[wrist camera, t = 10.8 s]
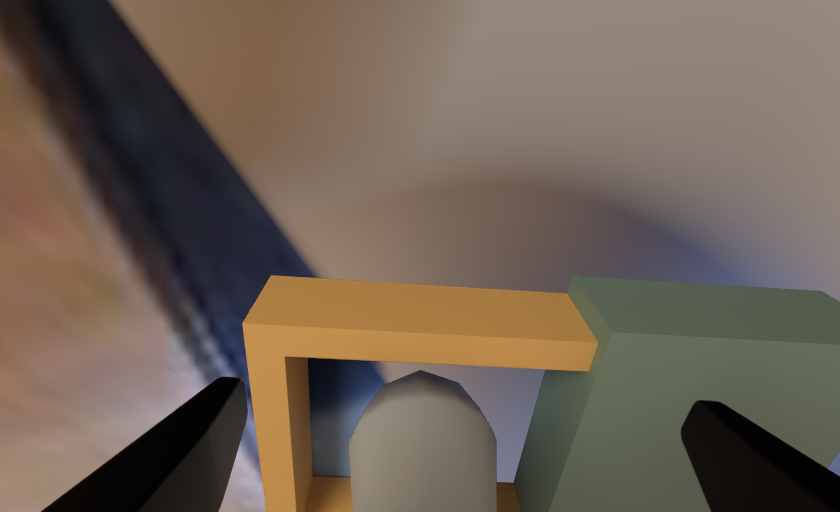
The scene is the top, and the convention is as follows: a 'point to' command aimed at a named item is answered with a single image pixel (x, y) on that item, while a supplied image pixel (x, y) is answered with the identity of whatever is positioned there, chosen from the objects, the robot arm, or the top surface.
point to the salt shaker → (423, 450)
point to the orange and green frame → (559, 377)
